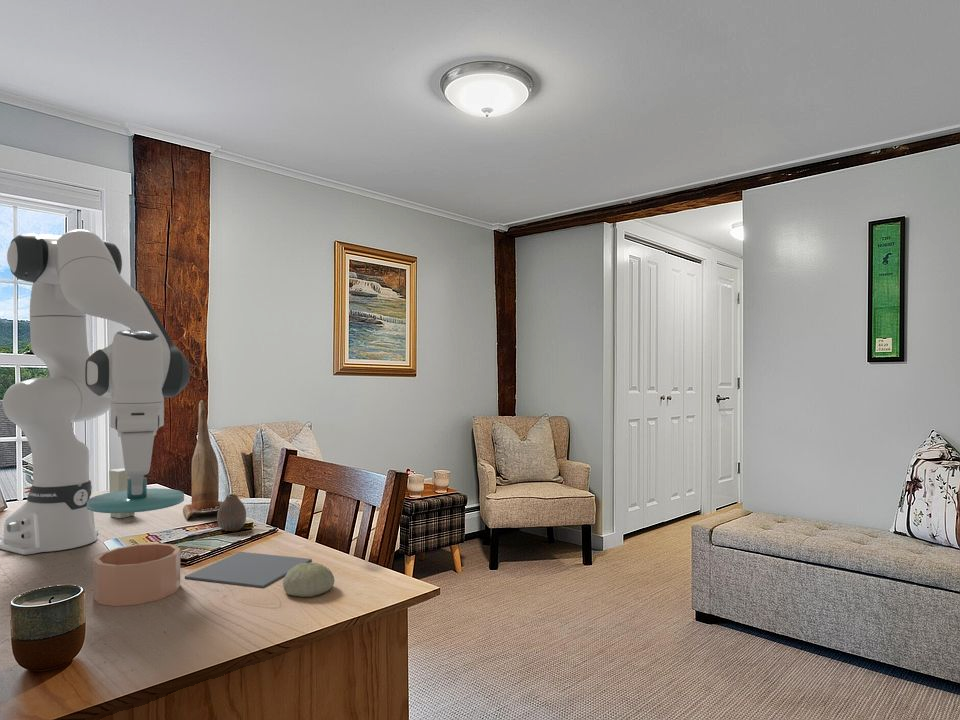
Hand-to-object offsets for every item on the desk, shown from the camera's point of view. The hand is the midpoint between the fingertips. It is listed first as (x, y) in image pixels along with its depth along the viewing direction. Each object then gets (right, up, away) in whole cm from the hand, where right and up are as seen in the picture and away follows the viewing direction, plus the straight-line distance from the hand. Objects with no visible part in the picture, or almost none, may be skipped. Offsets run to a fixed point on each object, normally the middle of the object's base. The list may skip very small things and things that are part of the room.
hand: (136, 491), depth 122 cm
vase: (+1, -19, +44) cm, 47 cm away
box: (-34, -19, +58) cm, 70 cm away
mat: (+17, -19, +13) cm, 28 cm away
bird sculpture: (-12, -19, +60) cm, 64 cm away
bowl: (0, -19, 0) cm, 19 cm away
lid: (0, -2, 0) cm, 2 cm away
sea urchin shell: (+32, -19, +1) cm, 37 cm away
